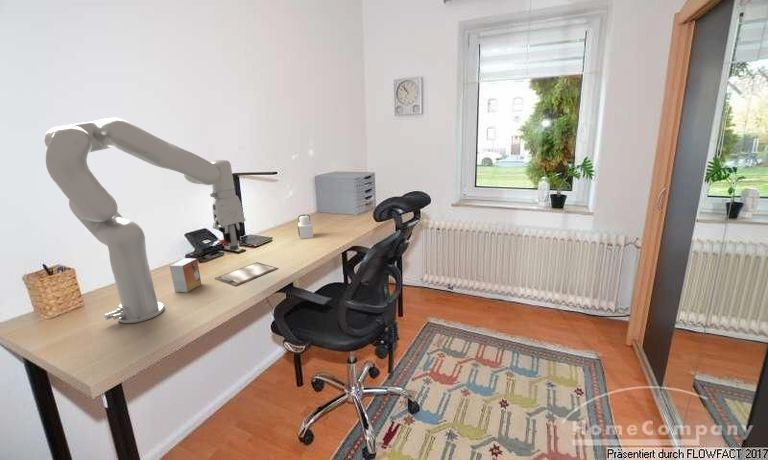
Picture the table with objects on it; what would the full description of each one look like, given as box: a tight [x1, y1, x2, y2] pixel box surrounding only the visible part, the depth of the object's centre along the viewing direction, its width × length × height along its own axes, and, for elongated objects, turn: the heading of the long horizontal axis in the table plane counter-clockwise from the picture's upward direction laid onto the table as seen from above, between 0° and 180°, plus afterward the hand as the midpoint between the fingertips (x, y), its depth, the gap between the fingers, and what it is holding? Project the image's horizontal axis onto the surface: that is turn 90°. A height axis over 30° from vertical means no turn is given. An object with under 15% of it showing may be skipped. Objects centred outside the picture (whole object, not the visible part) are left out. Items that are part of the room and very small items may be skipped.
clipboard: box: [214, 261, 279, 287], centre depth 149 cm, size 20×14×1 cm
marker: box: [227, 224, 239, 251], centre depth 140 cm, size 3×3×13 cm
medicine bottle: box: [297, 214, 314, 240], centre depth 195 cm, size 7×7×12 cm
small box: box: [169, 257, 202, 293], centre depth 137 cm, size 8×6×10 cm
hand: (232, 240), depth 141 cm, fingers closed on marker, 3 cm apart
